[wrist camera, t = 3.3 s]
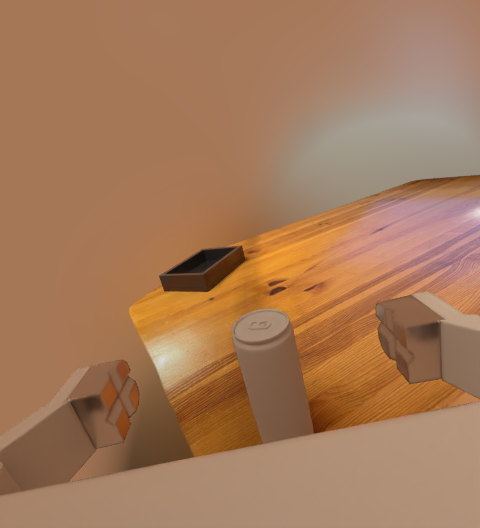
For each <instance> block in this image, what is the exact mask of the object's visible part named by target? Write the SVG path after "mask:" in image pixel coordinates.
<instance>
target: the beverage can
mask: <svg viewBox="0 0 480 528" xmlns="http://www.w3.org/2000/svg"><path fill="white" fill-rule="evenodd" d="M232 334H233V336H232V339H233V344H234V347H235V351H236V354H237V358H238V361H239V365H240V368H241V372H242V375H243V379H244V382H245V386H246V389H247V393H248V396H249V400H250V403H251V406H252V410H253V413H254V417H255V420H256V424H257V427H258V430H259V434H260V437H261V440H262V443H263V444H265V443H270V442H275V441H280V440H285V439H290V438H295V437H300V436H305V435H310V434H314V430H313V424H312V419H311V414H310V409H309V404H308V399H307V395H306V390H305V385H304V380H303V375H302V370H301V365H300V361H299V356H298V351H297V346H296V341H295V336H294V331H293V327H292V324H291V323H290V321H289V317H288V316H287V314H286V313H284V312H283V311H280V310H276V309H261V310H256V311H253V312H250V313H248V314H245V315H244V316H242V317H240V318H239V319H238V320H237V321H236V322H235V323H234V325H233V327H232Z"/></svg>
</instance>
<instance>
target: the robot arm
mask: <svg viewBox="0 0 480 528" xmlns="http://www.w3.org/2000/svg"><path fill="white" fill-rule="evenodd" d="M375 310H376V316H377V318H378V319H379V320H380V321H381V323H380V325H379V327H378V328H377V329H378V336H379V340H380V343H381V346H382V348H383V350H384V352H385V353H386V355H387V356H388V357H389V358H390V359H392V360H395V361H396V362H397V369H398V370H399V371H400V372H401V374H402V375H403V376H404V377H405V379H406V380H407V381H408V382H409V384H414V383H420V382H426V381H431V380H437V379H442V380H443V381H445V382H447V383H449V384H451V385H453V386H455V387H457V388H459V389H461V390H463V391H465V392H467V393H469V394H471V395H473V396H474V397H476V398H478V399H480V315H475V314H469V315H465V314H463V313H462V312H460V311H459V310H457V309H456V308H454V307H453V306H451V305H450V304H448V303H447V302H445V301H443V300H442V299H440V298H439V297H437V296H436V295H434V294H433V293H431V292H429V291H423V292H420V293H416V294H412V295H408V296H404V297H400V298H396V299H392V300H388V301H384V302H380V303H377V304H376V308H375ZM129 373H130V368H129V366H128V364H127V362H126V361H124V360H117V361H113V362H108V363H103V364H98V365H94V366H88V367H83V368H80V369H77V370H75V371H74V373H73V374H72V375H71V376H70V378H69V379H68V380H67V381H66V383H65V384H64V385H63V387H62V388H61V389H60V390H59V392H58V393H57V394H56V395H55V397H54V398H53V399H52V401H51V402H50V403H49V404H48V405H47V406H43V407H41V408H40V409H38V410H37V411H35V412H34V413H33V414H31V415H30V416H28V417H27V418H25V419H24V420H22V421H21V422H20V423H18V424H17V425H15V426H14V427H12V428H11V429H10V430H8V431H7V432H5V433H4V434H2V435H1V436H0V528H480V401H478V402H473V403H468V404H463V405H458V406H453V407H447V408H442V409H437V410H432V411H427V412H422V413H417V414H412V415H407V416H402V417H397V418H392V419H387V420H381V421H376V422H371V423H366V424H361V425H356V426H351V427H346V428H341V429H336V430H331V431H326V432H321V433H315V434H310V435H305V436H300V437H295V438H290V439H285V440H280V441H275V442H270V443H265V444H260V445H255V446H250V447H245V448H239V449H234V450H229V451H224V452H219V453H214V454H209V455H204V456H199V457H194V458H189V459H184V460H179V461H173V462H168V463H163V464H158V465H153V466H148V467H143V468H138V469H133V470H128V471H122V472H117V473H113V474H107V475H102V476H97V477H92V478H87V479H82V480H77V481H72V482H69V481H70V479H71V478H72V477H73V476H74V475H75V474H76V473H77V471H78V470H79V469H80V468H81V467H82V466H83V465H84V463H85V462H86V461H87V460H88V459H89V458H90V457H91V456H92V454H93V453H94V452H95V451H96V449H98V448H102V447H107V446H111V445H114V444H119V443H123V442H124V440H125V437H126V435H127V432H128V430H129V428H130V425H131V422H130V420H129V418H130V417H131V416H132V415H133V414H134V413H135V412H136V410H137V408H138V405H139V390H138V386H137V384H136V381H135V380H133V379H131V378H130V377H129Z"/></svg>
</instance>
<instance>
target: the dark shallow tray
mask: <svg viewBox="0 0 480 528" xmlns="http://www.w3.org/2000/svg"><path fill="white" fill-rule="evenodd" d="M244 260H245V257H244V252H243V248H242V246H232V247H220V248H208V249H201V250H200V251H198V252H197V253H195V254H193V255H192V256H190V257H189V258H187V259H185V260H184V261H182V262H181V263H179V264H177V265H176V266H174V267H172V268H171V269H169V270H168V271H166V272H164V273H163V274H161V275H160V276H159V277H160V280H161V283H162V286H163V289H164V291H209V290H210V289H212V288H213V287H214V286H215V285H216V284H217V283H219V282H220V281H221V280H222V279H223V278H225V277H226V276H227V275H228V274H229V273H230V272H232V271H233V270H234V269H235V268H236V267H237V266H239V265H240V264H241V263H242V262H243V261H244Z"/></svg>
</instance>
